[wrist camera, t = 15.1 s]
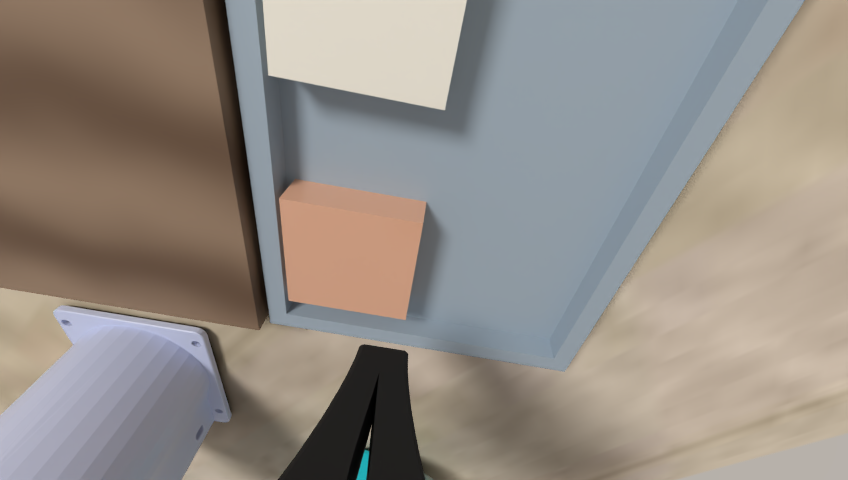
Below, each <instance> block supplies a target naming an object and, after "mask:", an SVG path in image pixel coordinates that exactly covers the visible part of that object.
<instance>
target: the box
mask: <svg viewBox="0 0 848 480" xmlns="http://www.w3.org/2000/svg"><path fill="white" fill-rule="evenodd" d="M804 1H805V0H467V2H466V7H465V12H464V17H463V22H462V27H461V32H460V37H459V42H458V47H457V52H456V57H455V62H454V67H453V72H452V77H451V82H450V87H449V92H448V97H447V102H446V107H445V110H440V109H435V108H430V107H425V106H420V105H415V104H410V103H405V102H400V101H395V100H390V99H385V98H380V97H375V96H370V95H365V94H360V93H355V92H350V91H345V90H340V89H335V88H330V87H325V86H320V85H315V84H310V83H304V82H299V81H294V80H289V79H284V78H279V77H274V76H269V75H268V64H267V51H266V38H265V25H264V12H263V0H225V3H226V10H227V18H228V25H229V32H230V39H231V46H232V53H233V60H234V67H235V74H236V82H237V89H238V96H239V103H240V110H241V117H242V124H243V131H244V138H245V146H246V153H247V160H248V167H249V174H250V181H251V188H252V195H253V203H254V210H255V217H256V224H257V231H258V238H259V245H260V252H261V259H262V267H263V274H264V281H265V288H266V295H267V302H268V309H269V316H270V323H274V324H280V325H286V326H292V327H298V328H304V329H310V330H316V331H322V332H328V333H334V334H341V335H347V336H353V337H359V338H365V339H371V340H377V341H383V342H389V343H395V344H401V345H407V346H413V347H419V348H425V349H431V350H437V351H443V352H449V353H455V354H461V355H467V356H473V357H479V358H485V359H491V360H497V361H503V362H509V363H516V364H522V365H528V366H534V367H540V368H546V369H552V370H558V371H564V372H565V370H566V369H567V367H568V366H569V364H570V363H571V361H572V359H573V358H574V356H575V355H576V353H577V352H578V350H579V349H580V347H581V346H582V344H583V342H584V341H585V339H586V338H587V336H588V335H589V333H590V332H591V330H592V329H593V327H594V325H595V324H596V322H597V321H598V319H599V318H600V316H601V315H602V313H603V312H604V310H605V308H606V307H607V305H608V304H609V302H610V301H611V299H612V298H613V296H614V294H615V293H616V291H617V290H618V288H619V287H620V285H621V284H622V282H623V281H624V279H625V277H626V276H627V274H628V273H629V271H630V270H631V268H632V267H633V265H634V264H635V262H636V260H637V259H638V257H639V256H640V254H641V253H642V251H643V250H644V248H645V247H646V245H647V243H648V242H649V240H650V239H651V237H652V236H653V234H654V233H655V231H656V230H657V228H658V226H659V225H660V223H661V222H662V220H663V219H664V217H665V216H666V214H667V213H668V211H669V209H670V208H671V206H672V205H673V203H674V202H675V200H676V199H677V197H678V196H679V194H680V192H681V191H682V189H683V188H684V186H685V185H686V183H687V182H688V180H689V179H690V177H691V175H692V174H693V172H694V171H695V169H696V168H697V166H698V165H699V163H700V162H701V160H702V158H703V157H704V155H705V154H706V152H707V151H708V149H709V148H710V146H711V145H712V143H713V141H714V140H715V138H716V137H717V135H718V134H719V132H720V131H721V129H722V128H723V126H724V124H725V123H726V121H727V120H728V118H729V117H730V115H731V114H732V112H733V111H734V109H735V107H736V106H737V104H738V103H739V101H740V100H741V98H742V97H743V95H744V94H745V92H746V90H747V89H748V87H749V86H750V84H751V83H752V81H753V80H754V78H755V77H756V75H757V73H758V72H759V70H760V69H761V67H762V66H763V64H764V63H765V61H766V60H767V58H768V56H769V55H770V53H771V52H772V50H773V49H774V47H775V46H776V44H777V43H778V41H779V39H780V38H781V36H782V35H783V33H784V32H785V30H786V29H787V27H788V26H789V24H790V22H791V21H792V19H793V18H794V16H795V15H796V13H797V12H798V10H799V9H800V7H801V5H802V4H803V2H804ZM294 179H299V180H304V181H310V182H316V183H322V184H327V185H333V186H339V187H345V188H350V189H356V190H362V191H368V192H373V193H379V194H385V195H391V196H396V197H402V198H408V199H414V200H419V201H425V202H426V208H425V215H424V222H423V227H422V233H421V238H420V244H419V249H418V255H417V260H416V266H415V271H414V277H413V282H412V288H411V293H410V299H409V304H408V310H407V315H406V320H402V319H396V318H390V317H384V316H378V315H372V314H366V313H360V312H354V311H348V310H342V309H336V308H330V307H324V306H318V305H312V304H306V303H300V302H294V301H289V299H288V289H287V278H286V268H285V257H284V246H283V236H282V225H281V215H280V204H279V198H280V197H281V195H282V194H283V193H284V192H285V191H286V189H287V188H288V187H289V186H290V184H291V183H292V182H293V181H294Z"/></svg>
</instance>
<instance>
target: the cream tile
mask: <svg viewBox="0 0 848 480" xmlns="http://www.w3.org/2000/svg"><path fill="white" fill-rule="evenodd" d="M466 2H467V0H263V12H264V25H265V38H266V51H267V64H268V75H269V76H274V77H279V78H284V79H289V80H294V81H299V82H304V83H310V84H315V85H320V86H325V87H330V88H335V89H340V90H345V91H350V92H355V93H360V94H365V95H370V96H375V97H380V98H385V99H390V100H395V101H400V102H405V103H410V104H415V105H420V106H425V107H430V108H435V109H440V110H445V107H446V102H447V97H448V92H449V87H450V82H451V77H452V72H453V67H454V62H455V57H456V52H457V47H458V42H459V37H460V32H461V27H462V22H463V17H464V12H465V7H466Z"/></svg>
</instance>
